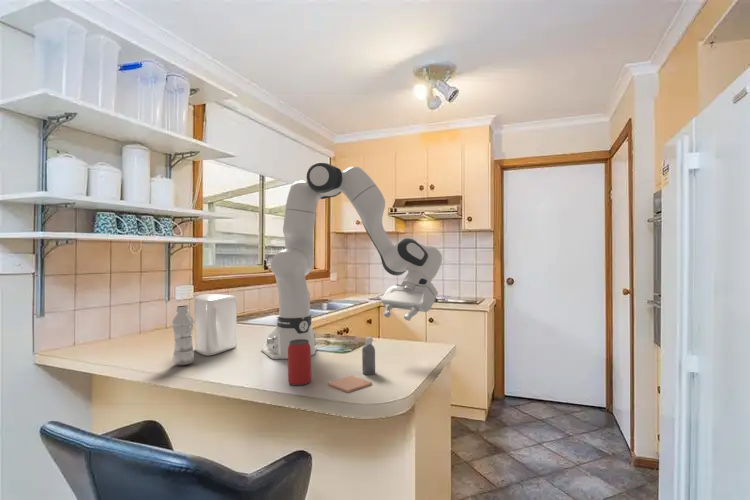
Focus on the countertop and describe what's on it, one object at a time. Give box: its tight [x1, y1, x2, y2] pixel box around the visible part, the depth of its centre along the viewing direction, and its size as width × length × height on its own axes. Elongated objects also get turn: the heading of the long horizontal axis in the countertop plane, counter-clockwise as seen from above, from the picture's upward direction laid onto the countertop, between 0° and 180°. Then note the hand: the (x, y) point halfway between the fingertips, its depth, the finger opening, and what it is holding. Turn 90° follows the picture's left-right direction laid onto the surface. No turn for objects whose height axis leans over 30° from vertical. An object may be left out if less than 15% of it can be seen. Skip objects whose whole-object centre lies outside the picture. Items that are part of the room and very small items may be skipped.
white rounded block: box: [194, 293, 238, 356], centre depth 156 cm, size 15×14×22 cm
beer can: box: [287, 339, 312, 386], centre depth 117 cm, size 7×7×12 cm
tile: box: [327, 375, 373, 393], centre depth 115 cm, size 9×9×1 cm
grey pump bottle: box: [361, 336, 376, 376], centre depth 125 cm, size 4×4×11 cm
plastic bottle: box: [172, 304, 195, 366], centre depth 137 cm, size 6×7×20 cm
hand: (395, 317), depth 134 cm, fingers open, 8 cm apart
